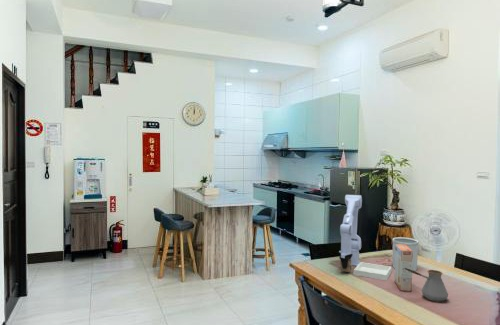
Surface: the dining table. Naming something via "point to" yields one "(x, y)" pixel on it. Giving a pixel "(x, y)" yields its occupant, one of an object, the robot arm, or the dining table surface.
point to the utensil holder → (411, 244)
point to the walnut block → (347, 266)
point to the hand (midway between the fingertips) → (345, 267)
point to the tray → (373, 271)
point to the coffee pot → (433, 286)
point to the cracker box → (403, 267)
